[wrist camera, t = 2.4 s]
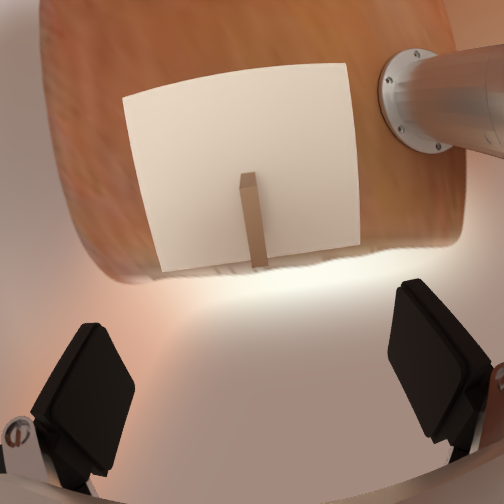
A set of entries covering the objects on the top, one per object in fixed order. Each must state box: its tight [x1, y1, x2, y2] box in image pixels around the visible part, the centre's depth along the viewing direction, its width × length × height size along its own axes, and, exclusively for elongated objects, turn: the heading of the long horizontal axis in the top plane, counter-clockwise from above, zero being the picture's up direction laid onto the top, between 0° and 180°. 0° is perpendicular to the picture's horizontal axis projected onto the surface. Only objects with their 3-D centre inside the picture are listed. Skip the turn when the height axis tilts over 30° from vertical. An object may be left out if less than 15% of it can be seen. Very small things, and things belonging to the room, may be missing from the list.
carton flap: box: [122, 63, 360, 272], centre depth 19 cm, size 14×16×6 cm
